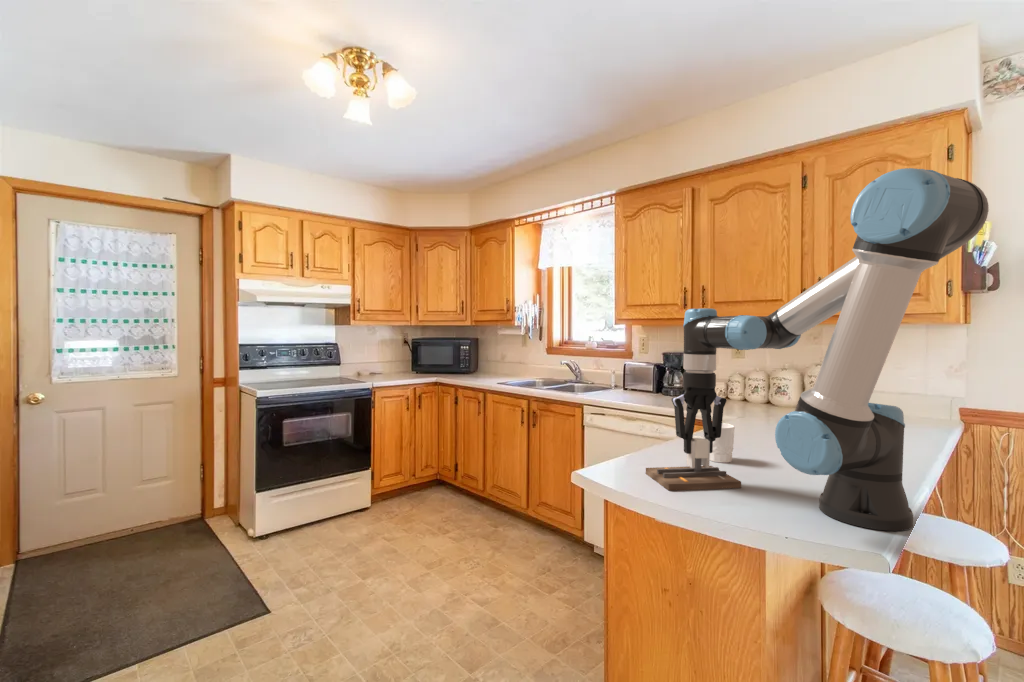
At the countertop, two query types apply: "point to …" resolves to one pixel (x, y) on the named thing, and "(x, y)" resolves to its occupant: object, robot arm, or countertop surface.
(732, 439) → the white cup
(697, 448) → the block
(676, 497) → the countertop surface
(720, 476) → the board
